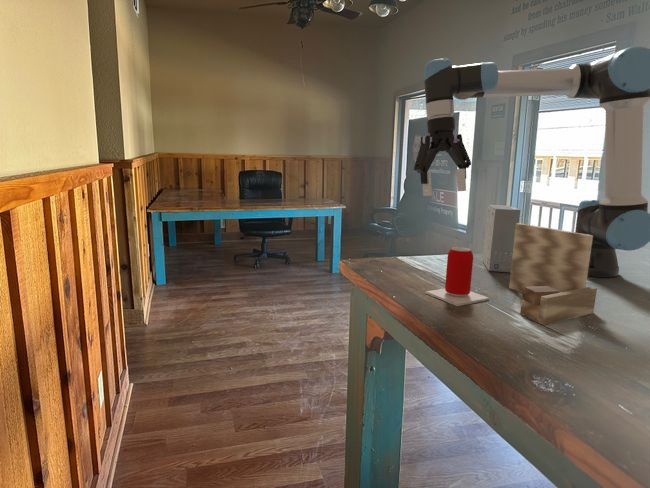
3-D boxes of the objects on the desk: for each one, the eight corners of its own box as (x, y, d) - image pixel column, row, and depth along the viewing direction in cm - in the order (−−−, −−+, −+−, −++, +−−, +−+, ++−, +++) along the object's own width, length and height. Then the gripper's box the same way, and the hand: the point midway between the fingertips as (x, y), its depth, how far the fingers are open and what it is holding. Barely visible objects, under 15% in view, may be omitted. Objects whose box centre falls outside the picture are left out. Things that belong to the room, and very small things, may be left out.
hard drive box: (514, 273, 141) (521, 210, 137) (488, 271, 142) (494, 208, 138) (504, 262, 156) (511, 204, 152) (481, 261, 157) (487, 203, 153)
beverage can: (474, 297, 113) (478, 250, 111) (451, 298, 112) (455, 251, 110) (462, 290, 119) (466, 245, 117) (440, 291, 118) (443, 246, 115)
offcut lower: (519, 314, 104) (521, 300, 104) (539, 310, 108) (540, 296, 107) (539, 321, 100) (541, 306, 99) (558, 316, 103) (560, 302, 103)
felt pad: (457, 288, 123) (457, 286, 123) (489, 300, 113) (489, 297, 113) (426, 293, 118) (426, 291, 117) (456, 306, 108) (457, 303, 108)
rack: (464, 295, 117) (471, 226, 113) (512, 287, 125) (519, 223, 122) (544, 325, 97) (554, 243, 94) (594, 312, 106) (605, 237, 102)
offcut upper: (523, 299, 104) (524, 286, 104) (546, 298, 105) (547, 286, 105) (534, 304, 100) (535, 291, 100) (557, 303, 102) (559, 291, 101)
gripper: (461, 119, 137) (465, 189, 140) (397, 120, 124) (403, 197, 127) (481, 115, 130) (485, 188, 133) (416, 116, 118) (421, 197, 121)
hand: (445, 193), depth 130 cm, fingers open, 13 cm apart
